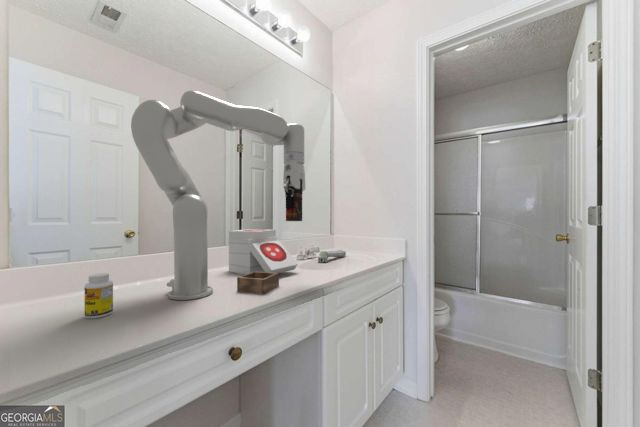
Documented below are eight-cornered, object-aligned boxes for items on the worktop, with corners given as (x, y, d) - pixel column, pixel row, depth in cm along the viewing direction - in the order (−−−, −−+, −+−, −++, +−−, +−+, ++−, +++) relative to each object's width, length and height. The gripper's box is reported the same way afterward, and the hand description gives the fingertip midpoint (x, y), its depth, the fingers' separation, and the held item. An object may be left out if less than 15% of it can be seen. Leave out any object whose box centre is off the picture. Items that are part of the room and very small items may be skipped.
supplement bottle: (79, 317, 66) (79, 276, 66) (104, 310, 72) (104, 271, 72) (93, 320, 64) (93, 278, 64) (118, 312, 69) (117, 273, 70)
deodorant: (283, 220, 99) (283, 180, 100) (299, 220, 102) (299, 181, 102) (288, 221, 94) (288, 178, 94) (304, 221, 96) (304, 179, 96)
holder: (237, 291, 88) (237, 277, 88) (253, 283, 98) (253, 271, 98) (264, 294, 85) (264, 279, 85) (278, 285, 94) (278, 273, 94)
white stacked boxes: (267, 281, 101) (267, 233, 101) (222, 271, 120) (222, 230, 120) (301, 272, 116) (301, 230, 116) (256, 264, 135) (256, 228, 135)
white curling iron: (347, 250, 158) (324, 249, 137) (346, 261, 157) (323, 262, 137) (339, 249, 161) (316, 248, 140) (338, 261, 160) (315, 261, 139)
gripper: (294, 153, 89) (294, 208, 89) (311, 163, 105) (311, 209, 105) (273, 155, 91) (273, 208, 91) (294, 164, 107) (294, 209, 107)
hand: (294, 208), depth 98 cm, fingers closed on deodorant, 5 cm apart
